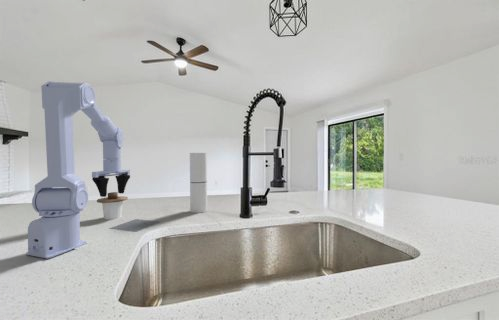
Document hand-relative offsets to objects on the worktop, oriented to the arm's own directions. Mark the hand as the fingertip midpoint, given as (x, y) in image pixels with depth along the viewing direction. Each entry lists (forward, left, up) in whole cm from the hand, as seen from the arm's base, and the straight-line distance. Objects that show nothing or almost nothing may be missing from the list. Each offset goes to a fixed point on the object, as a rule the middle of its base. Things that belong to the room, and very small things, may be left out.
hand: (112, 194), depth 84 cm
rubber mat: (-5, -16, -9) cm, 19 cm away
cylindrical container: (+19, -26, -9) cm, 33 cm away
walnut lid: (0, 0, -2) cm, 2 cm away
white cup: (0, 0, -9) cm, 9 cm away
